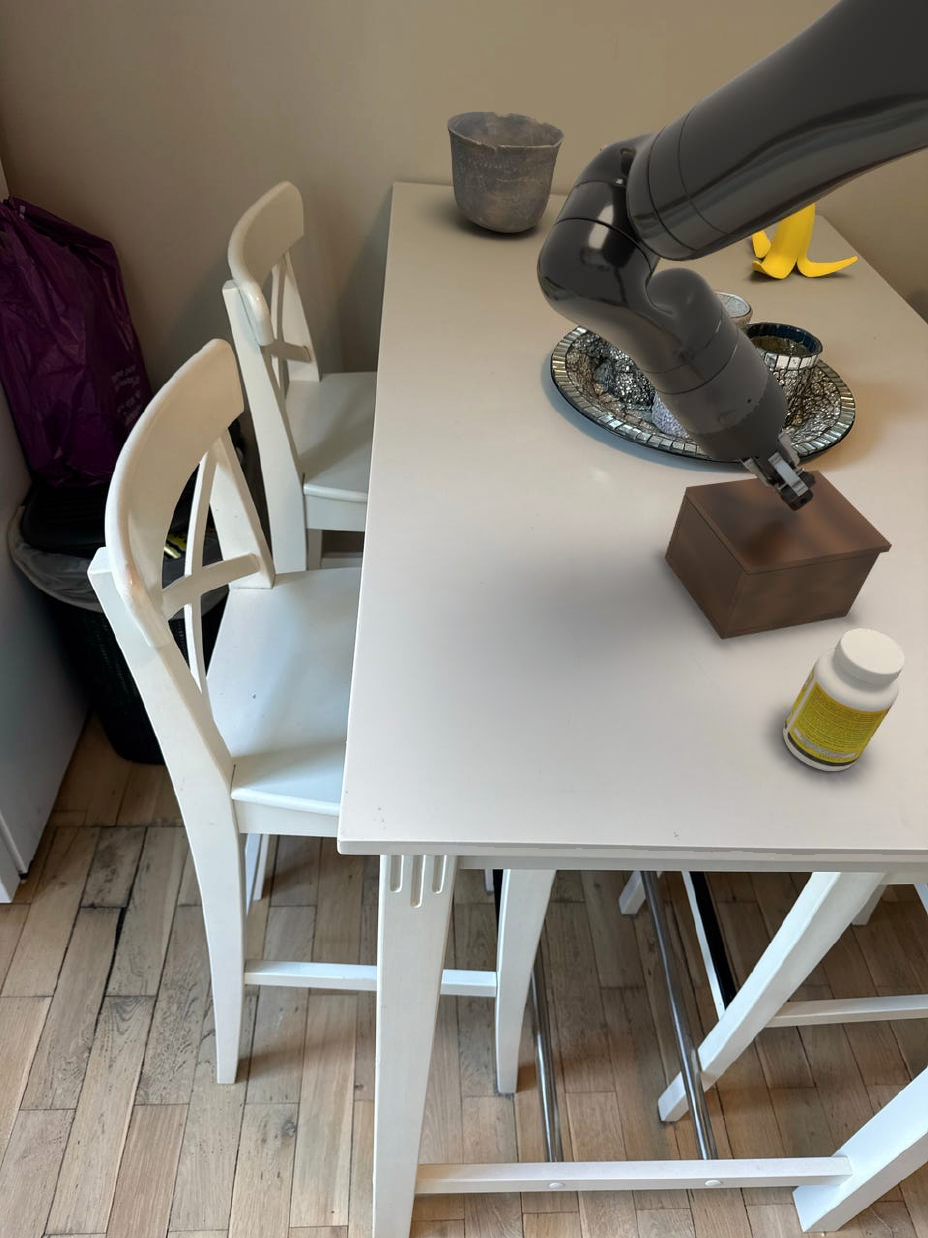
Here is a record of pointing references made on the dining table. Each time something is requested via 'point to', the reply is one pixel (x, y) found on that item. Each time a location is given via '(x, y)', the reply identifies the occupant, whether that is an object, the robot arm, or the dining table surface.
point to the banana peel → (792, 248)
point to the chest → (758, 582)
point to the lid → (785, 525)
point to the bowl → (502, 168)
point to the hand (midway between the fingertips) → (799, 499)
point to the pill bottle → (844, 700)
